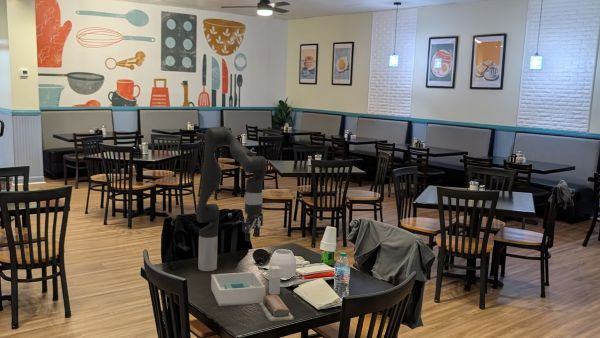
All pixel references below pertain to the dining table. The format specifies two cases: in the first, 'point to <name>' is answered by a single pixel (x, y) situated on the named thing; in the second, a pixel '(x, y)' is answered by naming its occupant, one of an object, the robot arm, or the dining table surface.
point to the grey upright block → (274, 280)
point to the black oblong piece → (261, 256)
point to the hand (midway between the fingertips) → (252, 238)
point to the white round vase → (284, 262)
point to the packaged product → (275, 308)
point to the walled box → (237, 288)
